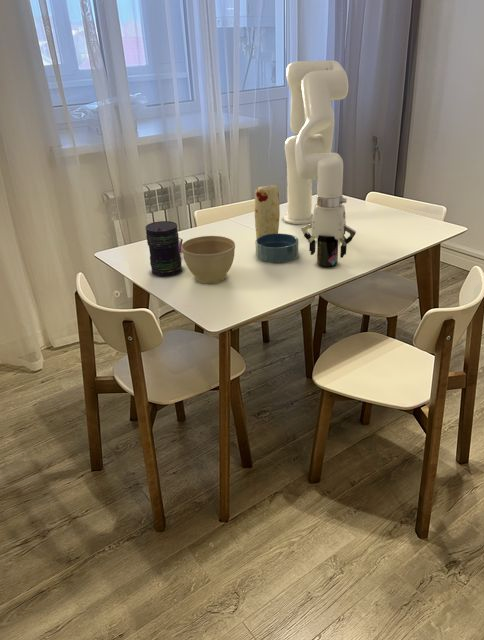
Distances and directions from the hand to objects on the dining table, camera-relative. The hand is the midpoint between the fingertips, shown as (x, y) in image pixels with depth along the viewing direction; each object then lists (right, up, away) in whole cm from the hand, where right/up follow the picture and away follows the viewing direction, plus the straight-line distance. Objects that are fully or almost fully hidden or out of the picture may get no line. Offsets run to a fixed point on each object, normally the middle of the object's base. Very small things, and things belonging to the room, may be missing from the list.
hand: (327, 254), depth 171 cm
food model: (-19, +9, +23) cm, 31 cm away
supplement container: (0, -3, +2) cm, 4 cm away
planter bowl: (-37, -8, -4) cm, 38 cm away
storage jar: (-51, -5, +1) cm, 52 cm away
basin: (-16, +1, +10) cm, 19 cm away
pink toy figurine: (-50, +3, +15) cm, 52 cm away
